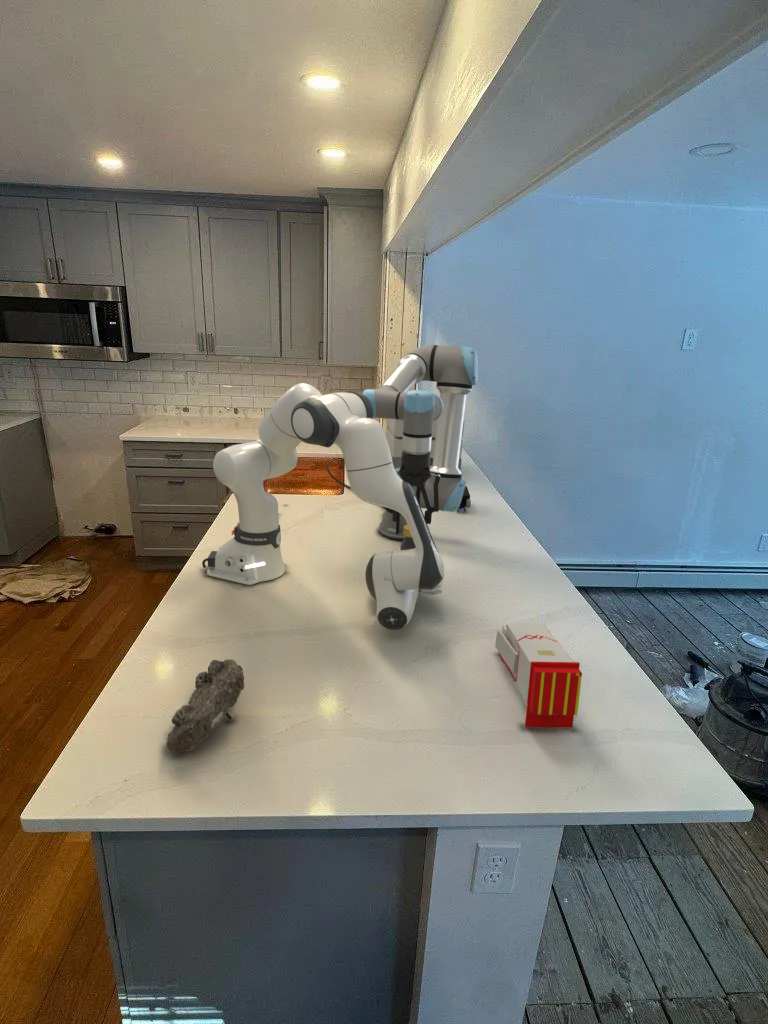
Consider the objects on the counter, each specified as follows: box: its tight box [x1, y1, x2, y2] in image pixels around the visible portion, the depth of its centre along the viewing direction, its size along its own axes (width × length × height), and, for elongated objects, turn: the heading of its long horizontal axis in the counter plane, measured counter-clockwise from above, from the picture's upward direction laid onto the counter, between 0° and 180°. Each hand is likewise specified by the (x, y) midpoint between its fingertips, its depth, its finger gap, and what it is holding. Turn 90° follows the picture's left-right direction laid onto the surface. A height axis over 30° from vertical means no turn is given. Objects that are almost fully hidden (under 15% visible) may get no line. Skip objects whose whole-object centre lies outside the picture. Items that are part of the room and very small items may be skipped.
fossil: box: [166, 658, 245, 754], centre depth 106 cm, size 22×10×15 cm
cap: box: [403, 525, 412, 537], centre depth 155 cm, size 4×4×2 cm
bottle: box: [399, 536, 416, 551], centre depth 158 cm, size 5×5×18 cm
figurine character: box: [456, 485, 472, 513], centre depth 228 cm, size 7×8×15 cm
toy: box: [494, 623, 583, 729], centre depth 120 cm, size 12×13×30 cm
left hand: (409, 566), depth 159 cm, fingers closed on bottle, 5 cm apart
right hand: (411, 533), depth 155 cm, fingers open, 7 cm apart
